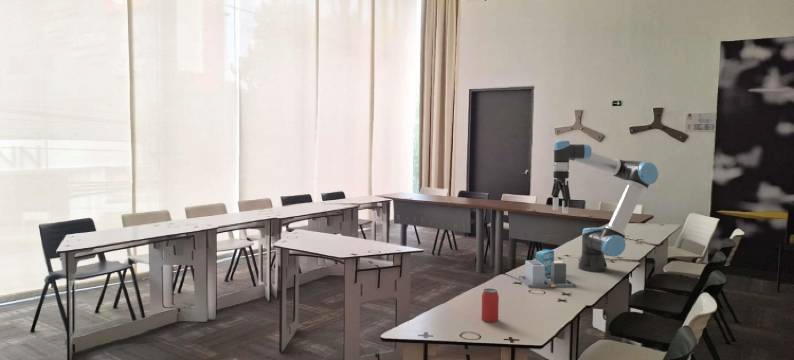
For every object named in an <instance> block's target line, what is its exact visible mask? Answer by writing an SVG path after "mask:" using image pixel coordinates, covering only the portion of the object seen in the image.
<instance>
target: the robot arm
mask: <svg viewBox="0 0 794 360" xmlns="http://www.w3.org/2000/svg"><path fill="white" fill-rule="evenodd" d="M553 146H554V147H553V164H552V166H553V178H554V179H553V185H552V190H551V194H550V195H551V196H552V210H553V211H559V199H560V197H559V195H560V192H561V196H562V200H561V201H562V208H561V209H562V211H561V212H562V213H561V214H569V201H570V200H571V193H570V185H569V180H567V179H569V177H570V172H569V170H570V161H572V162H576V163H579V164H582V165H585V166H588V167H591V168H594V169H597V170H601V171H603V172H607V173H609V175H610V176H613V177H615V178H618V179H621V180H623V181H625V184H626V186H625V187H624V190H623V192H622V194H621V196H620V198H619V200H618V203H617V205H616V207H615V209H614V211H613V213H612V216H611V217H610V220H609V222H608V224H607V225H605V226H603V227H585V228H583V229H582V234H581V237H582V238H581V241H582V243H581V255H580V259H579V261H578V264H577V268H578V269H580V270H582V271H586V272H594V273H595V272H598V273H599V272H606V271H608V263H607V261H606V258H605V257H606V256H607V257H613V258H614V257H618V256H620V255H622V254H623V252H624V251H625V249H626V247H627V245H626V240H625V238H626V234H625V230H626V228H627V227H628V224H629V222H630V220H631V218H632V216H633V214H634V211H635V209H636V207H637V205H638V203H639V200H640V199H641V196H642V193H643V192H645V191H647V190H648V188H649V186H650V185H653V184H655V183H656V182H657V181H658V178H659V170H658V167H657V166H656V165H655V164H654V163H653V162H650V161H646V160H645V161H642V160H640V161H639V160H623V159H619V158H614V159H612V158H610V157H607V156H604V155H602V154H598V153H594V152H592V147H591V146H590V145H589V144H585V143H581V144H580V143H579V144H575V143H574V144H571V143H570V140H555V141H554V145H553Z"/></svg>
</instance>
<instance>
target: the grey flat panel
mask: <svg viewBox="0 0 794 360" xmlns="http://www.w3.org/2000/svg"><path fill="white" fill-rule="evenodd" d="M550 279H551V275H545V284H534V285H530V284H529V283H528V282H527V281H526V280H525V275H519V276H518V280H520V281H521V282H522V283H523V284H525V286H526V287H527V288H528V289H539V288H540V289H542V288H544V289H545V288H551V289H552V288H576V285H577V284H576V283H574V282H573V281H571V280H570V279H569V278H567V277H566V284H554V283H552V282H551V281H550Z"/></svg>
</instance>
